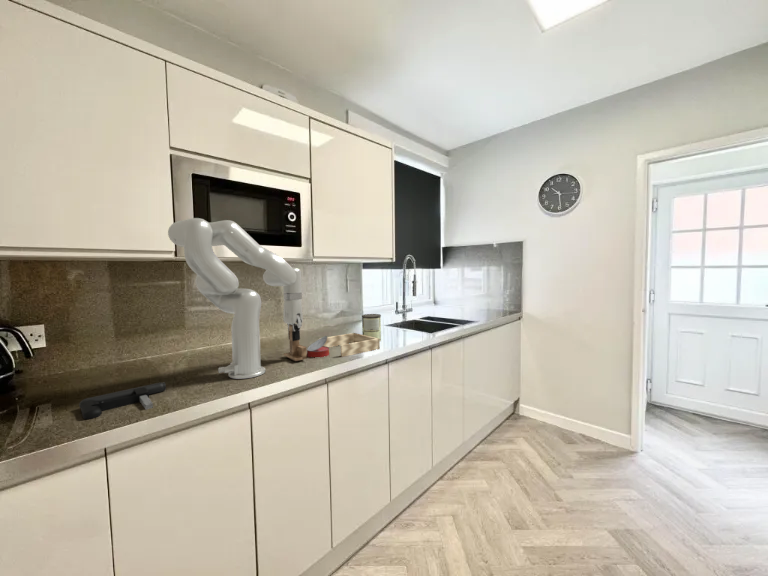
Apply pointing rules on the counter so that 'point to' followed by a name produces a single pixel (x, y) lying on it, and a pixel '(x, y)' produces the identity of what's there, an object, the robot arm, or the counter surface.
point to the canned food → (318, 348)
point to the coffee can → (371, 325)
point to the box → (353, 343)
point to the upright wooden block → (295, 348)
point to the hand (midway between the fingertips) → (294, 339)
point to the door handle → (119, 400)
